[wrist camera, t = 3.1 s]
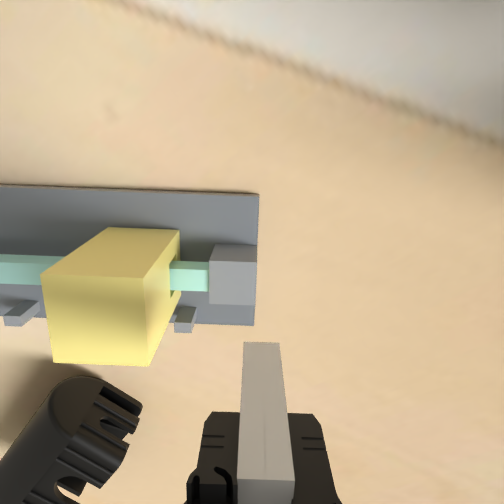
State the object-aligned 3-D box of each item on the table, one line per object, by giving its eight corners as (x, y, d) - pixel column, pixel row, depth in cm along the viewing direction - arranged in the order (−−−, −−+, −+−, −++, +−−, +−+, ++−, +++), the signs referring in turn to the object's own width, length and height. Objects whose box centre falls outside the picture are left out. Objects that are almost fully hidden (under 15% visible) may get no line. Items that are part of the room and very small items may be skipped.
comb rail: (-134, 179, 27) (-219, 191, 22) (259, 194, 27) (259, 209, 22) (-97, 305, 30) (-165, 340, 25) (254, 319, 30) (253, 356, 25)
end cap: (77, 357, 32) (31, 416, 25) (148, 401, 33) (122, 467, 27) (22, 431, 34) (-32, 502, 28) (90, 469, 36) (53, 545, 29)
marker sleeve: (108, 227, 27) (39, 274, 18) (179, 229, 27) (143, 278, 18) (114, 292, 28) (53, 362, 20) (181, 294, 28) (148, 366, 20)
